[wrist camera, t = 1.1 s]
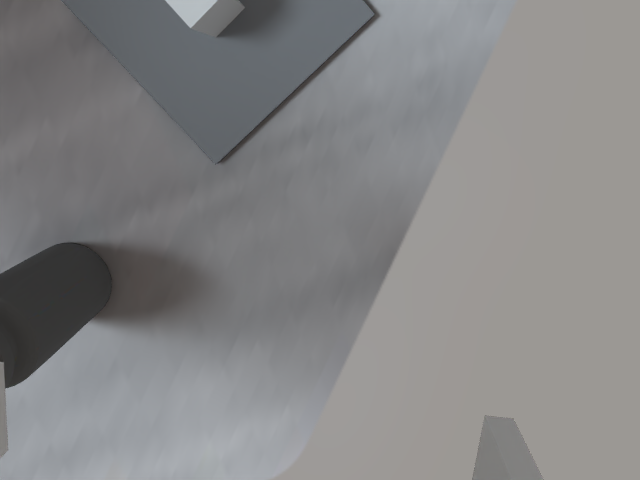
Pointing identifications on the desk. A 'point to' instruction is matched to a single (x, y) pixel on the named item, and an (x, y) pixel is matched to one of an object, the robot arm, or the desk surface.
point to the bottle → (48, 305)
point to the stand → (221, 55)
